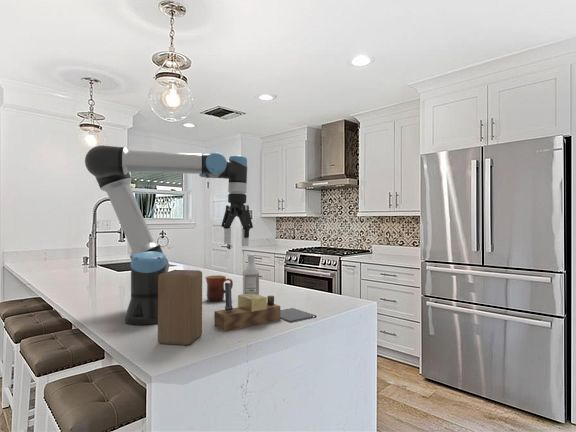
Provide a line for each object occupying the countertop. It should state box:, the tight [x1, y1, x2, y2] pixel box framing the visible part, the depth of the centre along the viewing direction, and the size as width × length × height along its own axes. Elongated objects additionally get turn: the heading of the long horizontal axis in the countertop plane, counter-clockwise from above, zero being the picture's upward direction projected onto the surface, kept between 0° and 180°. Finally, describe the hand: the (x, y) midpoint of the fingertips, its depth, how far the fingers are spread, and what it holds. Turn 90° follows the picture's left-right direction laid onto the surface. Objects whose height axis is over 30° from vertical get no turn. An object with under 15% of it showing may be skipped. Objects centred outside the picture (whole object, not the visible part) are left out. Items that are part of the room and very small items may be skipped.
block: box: [157, 269, 203, 346], centre depth 109 cm, size 10×10×20 cm
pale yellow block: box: [237, 293, 267, 312], centre depth 128 cm, size 6×9×4 cm, turn 37°
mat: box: [280, 307, 317, 323], centre depth 137 cm, size 12×14×1 cm
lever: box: [224, 282, 234, 311], centre depth 123 cm, size 2×2×9 cm
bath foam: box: [242, 253, 260, 295], centre depth 164 cm, size 7×7×20 cm
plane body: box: [213, 295, 281, 332], centre depth 127 cm, size 22×7×8 cm, turn 127°
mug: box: [205, 274, 234, 303], centre depth 162 cm, size 12×9×10 cm
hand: (235, 245), depth 153 cm, fingers open, 13 cm apart
